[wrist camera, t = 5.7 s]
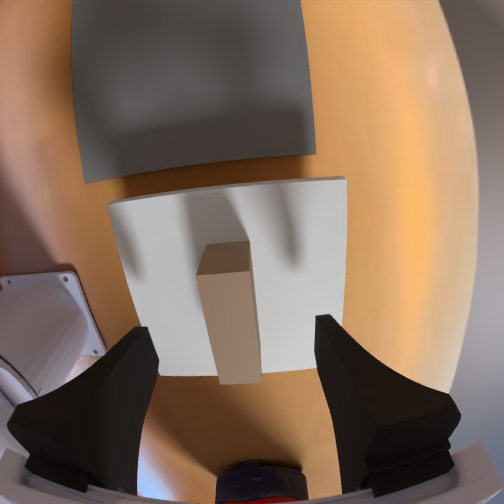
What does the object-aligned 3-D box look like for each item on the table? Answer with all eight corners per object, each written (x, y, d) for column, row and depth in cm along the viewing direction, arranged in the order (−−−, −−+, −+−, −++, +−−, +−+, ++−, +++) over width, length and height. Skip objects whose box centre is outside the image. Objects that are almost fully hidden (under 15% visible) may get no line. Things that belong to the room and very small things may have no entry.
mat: (89, 182, 17) (85, 183, 16) (77, -7, 11) (73, -9, 11) (313, 153, 17) (315, 154, 16) (289, -49, 11) (290, -54, 10)
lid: (162, 367, 18) (149, 411, 15) (113, 200, 14) (75, 225, 10) (334, 356, 18) (348, 401, 14) (341, 176, 13) (371, 195, 10)
